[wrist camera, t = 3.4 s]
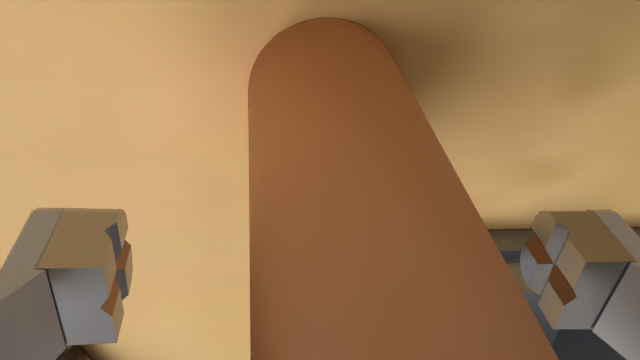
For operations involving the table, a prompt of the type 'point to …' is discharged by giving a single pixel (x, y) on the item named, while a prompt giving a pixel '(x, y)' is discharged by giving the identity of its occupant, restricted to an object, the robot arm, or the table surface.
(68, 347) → the bread roll
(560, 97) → the table surface
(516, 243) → the hollow box on baseplate
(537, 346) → the rounded pin
